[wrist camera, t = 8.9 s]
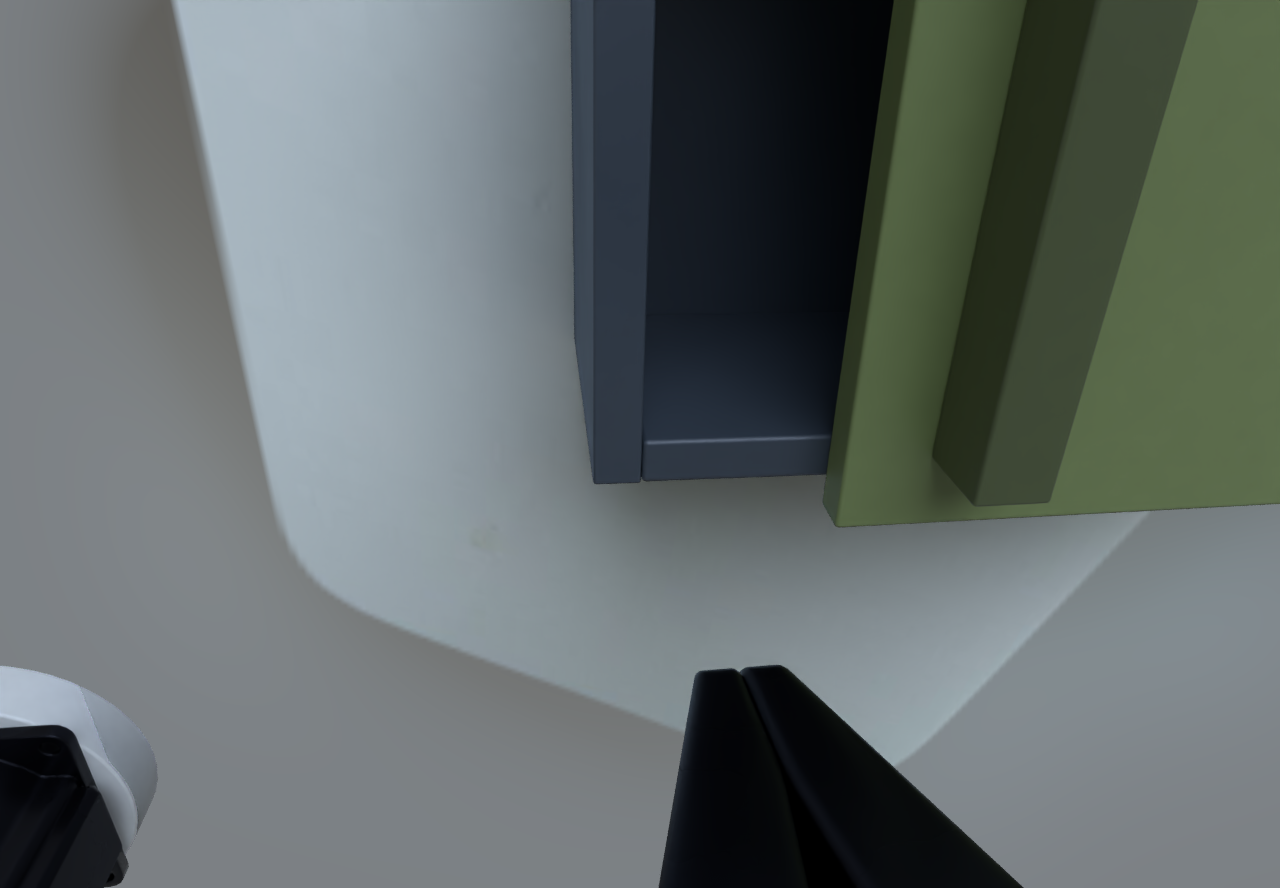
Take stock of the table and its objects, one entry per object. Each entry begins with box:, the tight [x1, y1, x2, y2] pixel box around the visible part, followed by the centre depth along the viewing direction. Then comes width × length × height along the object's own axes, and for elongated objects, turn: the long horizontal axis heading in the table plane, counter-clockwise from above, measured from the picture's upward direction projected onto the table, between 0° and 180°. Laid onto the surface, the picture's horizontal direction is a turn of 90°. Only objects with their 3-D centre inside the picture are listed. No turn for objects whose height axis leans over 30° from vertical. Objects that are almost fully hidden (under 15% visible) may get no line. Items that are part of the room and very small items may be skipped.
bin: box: [571, 0, 894, 484], centre depth 15 cm, size 14×12×6 cm
